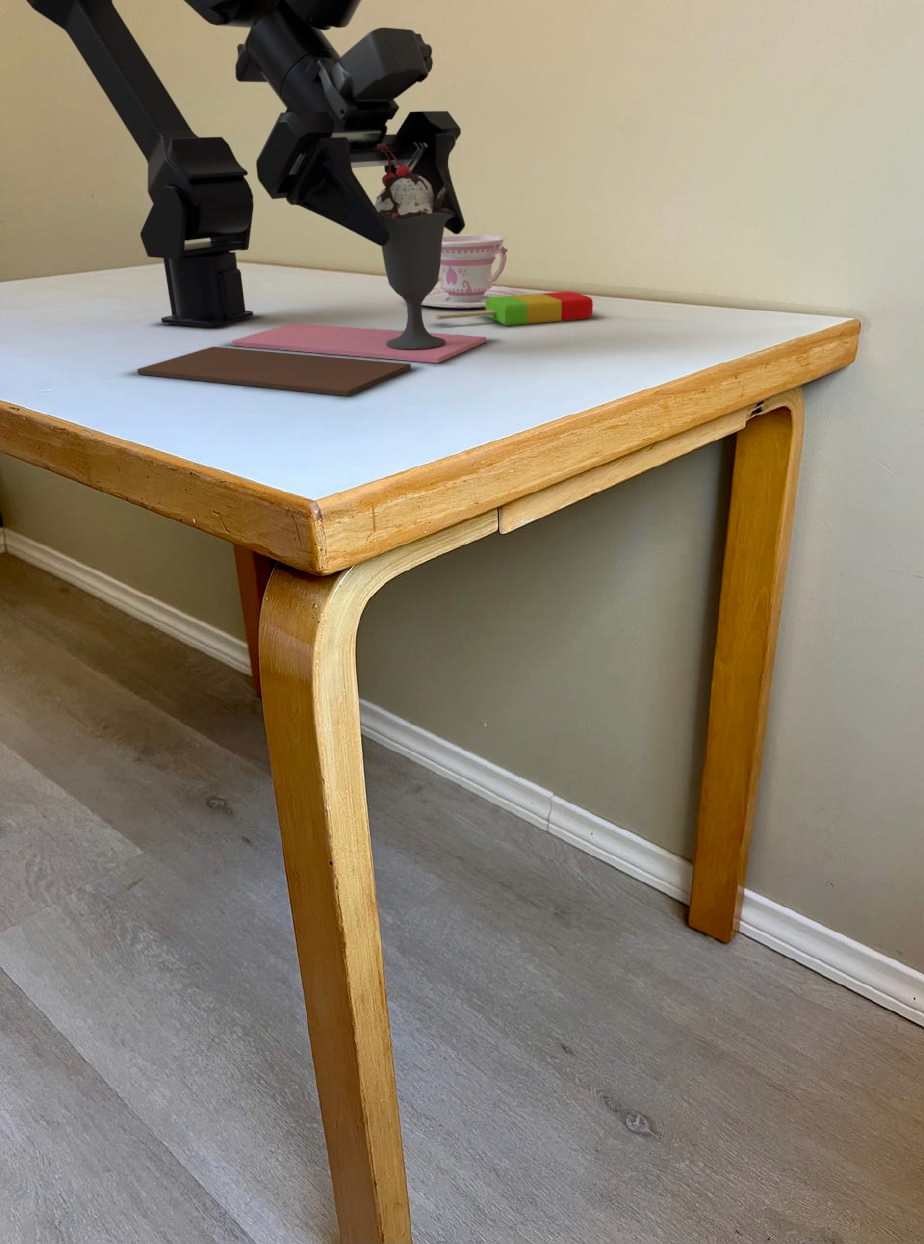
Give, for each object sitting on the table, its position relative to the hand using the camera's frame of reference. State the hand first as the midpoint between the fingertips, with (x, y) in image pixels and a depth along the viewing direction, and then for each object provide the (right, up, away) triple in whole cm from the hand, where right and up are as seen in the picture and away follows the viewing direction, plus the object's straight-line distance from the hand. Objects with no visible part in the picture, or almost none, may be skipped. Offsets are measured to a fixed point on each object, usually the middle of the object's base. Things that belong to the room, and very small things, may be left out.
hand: (425, 235), depth 75 cm
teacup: (+4, +4, +27) cm, 27 cm away
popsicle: (+8, -2, +16) cm, 18 cm away
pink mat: (-6, -6, +8) cm, 11 cm away
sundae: (-1, -7, +5) cm, 9 cm away
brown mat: (-12, -11, -1) cm, 16 cm away
